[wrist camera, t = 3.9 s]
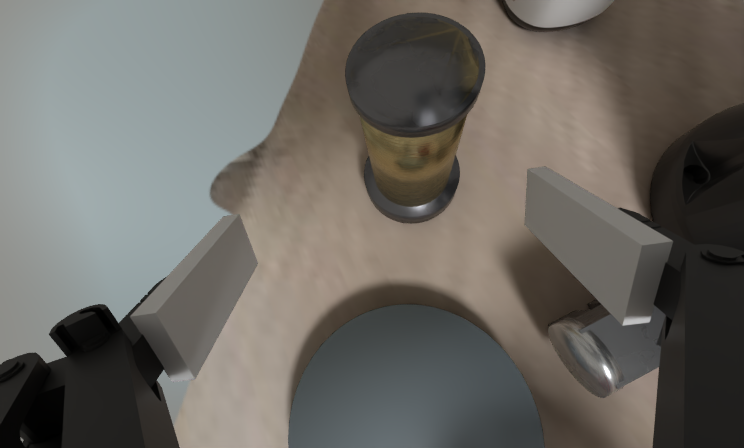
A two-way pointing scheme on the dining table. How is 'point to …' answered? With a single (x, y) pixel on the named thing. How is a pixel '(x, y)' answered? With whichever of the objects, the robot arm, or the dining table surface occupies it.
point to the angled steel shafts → (606, 348)
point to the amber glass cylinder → (414, 109)
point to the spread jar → (553, 13)
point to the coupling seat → (412, 387)
